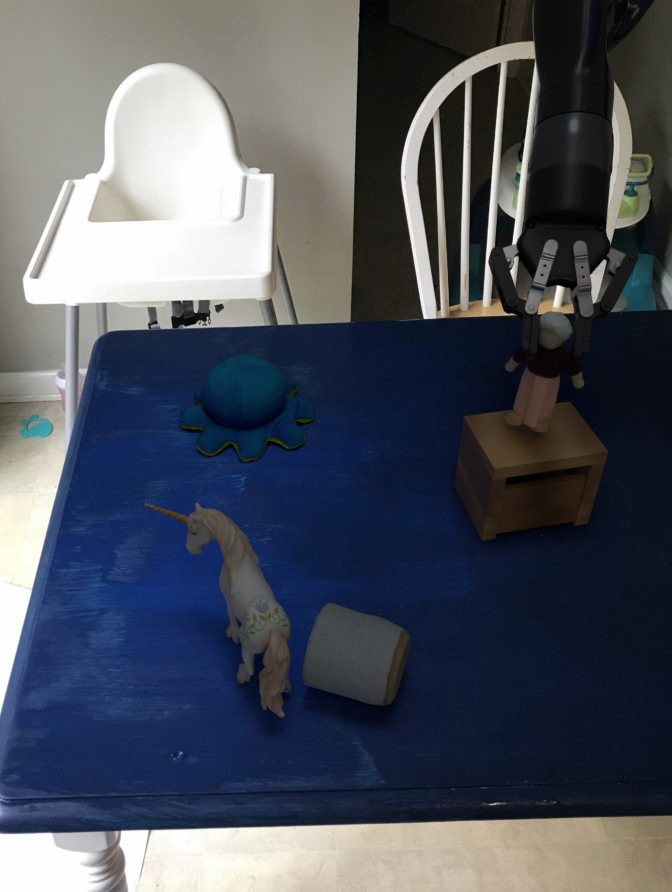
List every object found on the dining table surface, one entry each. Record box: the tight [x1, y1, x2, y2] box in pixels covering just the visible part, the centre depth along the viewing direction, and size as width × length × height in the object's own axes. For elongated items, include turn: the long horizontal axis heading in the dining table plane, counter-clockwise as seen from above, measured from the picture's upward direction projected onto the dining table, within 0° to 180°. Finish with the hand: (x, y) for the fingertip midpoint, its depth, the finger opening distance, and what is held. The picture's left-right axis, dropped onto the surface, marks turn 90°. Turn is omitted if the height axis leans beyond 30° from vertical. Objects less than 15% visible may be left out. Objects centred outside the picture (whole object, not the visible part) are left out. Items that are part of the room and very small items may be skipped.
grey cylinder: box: [302, 602, 411, 706], centre depth 74 cm, size 11×8×8 cm
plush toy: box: [178, 353, 316, 463], centre depth 103 cm, size 17×17×8 cm
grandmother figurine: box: [504, 310, 585, 433], centre depth 81 cm, size 8×4×13 cm, turn 72°
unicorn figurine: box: [143, 502, 293, 718], centre depth 75 cm, size 7×20×13 cm, turn 36°
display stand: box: [454, 401, 609, 542], centre depth 89 cm, size 12×9×10 cm
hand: (553, 358), depth 78 cm, fingers closed on grandmother figurine, 3 cm apart
